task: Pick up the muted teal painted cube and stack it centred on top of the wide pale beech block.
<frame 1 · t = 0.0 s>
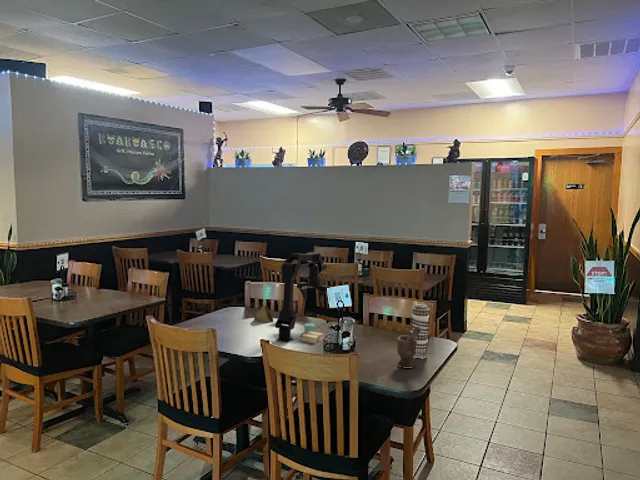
hand: (312, 301, 271), 15 cm above the table, tool pointing down, fingers open, 9 cm apart
beech block: (312, 340, 249), on the table
rock: (263, 321, 282), on the table
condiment: (286, 321, 282), on the table
decorative candle: (418, 356, 230), on the table
teal cube: (309, 333, 260), on the table
mortar and pestle: (408, 367, 215), on the table
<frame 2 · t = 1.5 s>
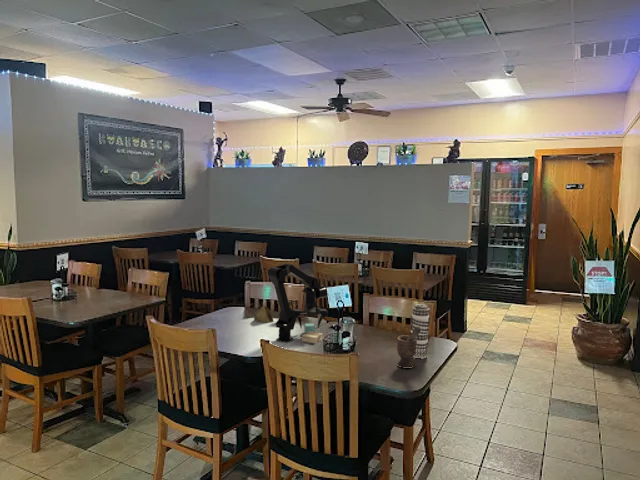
hand: (309, 328, 260), 3 cm above the table, tool pointing down, fingers open, 9 cm apart
nothing on the table moved.
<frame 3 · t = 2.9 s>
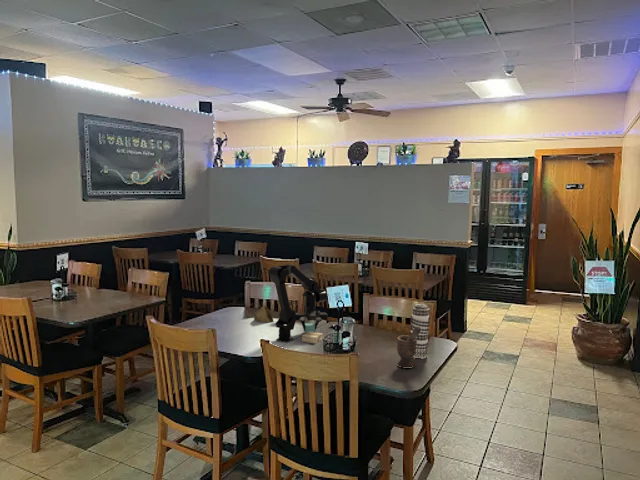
hand: (309, 331, 260), 1 cm above the table, tool pointing down, fingers closed on teal cube, 5 cm apart
teal cube: (309, 333, 260), on the table, touching gripper
everything else where it was.
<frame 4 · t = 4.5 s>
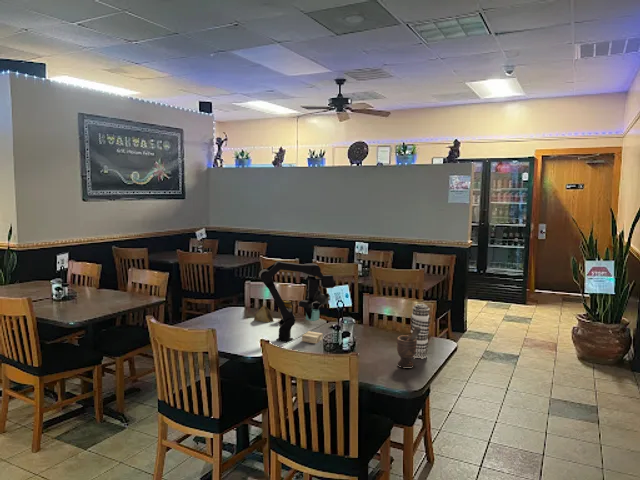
hand: (312, 317, 250), 11 cm above the table, tool pointing down, fingers closed on teal cube, 5 cm apart
teal cube: (312, 319, 250), point 10 cm above the table, touching gripper
everything else where it was.
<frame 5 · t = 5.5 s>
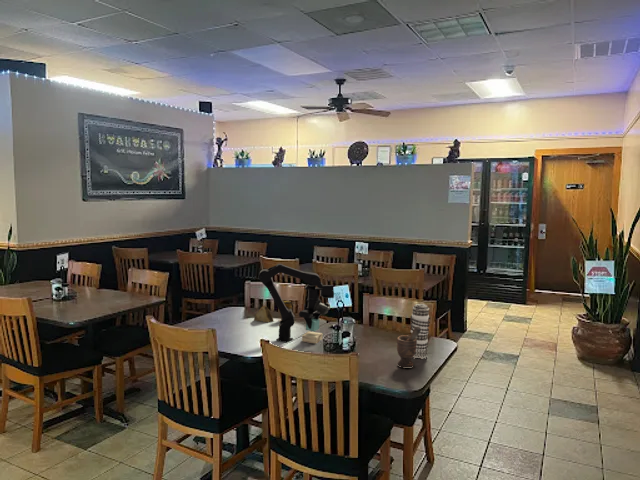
hand: (312, 327, 248), 7 cm above the table, tool pointing down, fingers closed on teal cube, 5 cm apart
teal cube: (312, 329, 248), point 6 cm above the table, touching gripper
everything else where it was.
when the fingers open (6 cm above the table, at t = 6.4 s): teal cube drops 2 cm, point 3 cm above the table.
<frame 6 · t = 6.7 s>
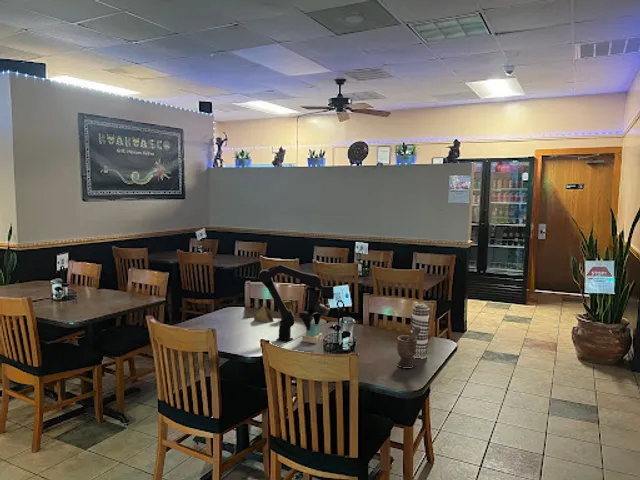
hand: (312, 328, 248), 6 cm above the table, tool pointing down, fingers open, 8 cm apart
teal cube: (312, 334, 248), point 3 cm above the table
everything else where it was.
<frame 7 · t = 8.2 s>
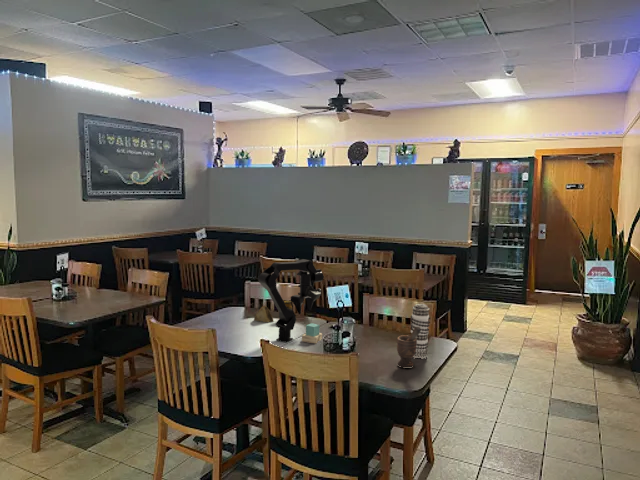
hand: (304, 312, 255), 13 cm above the table, tool pointing down, fingers open, 9 cm apart
beech block: (312, 340, 249), on the table, touching teal cube
teal cube: (312, 334, 248), point 3 cm above the table, touching beech block
everything else where it was.
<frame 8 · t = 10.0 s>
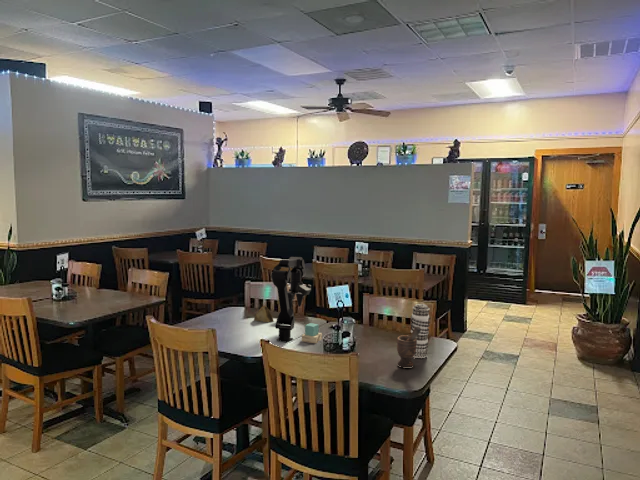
hand: (295, 308, 262), 13 cm above the table, tool pointing down, fingers open, 9 cm apart
beech block: (311, 340, 249), on the table
teal cube: (311, 334, 249), point 3 cm above the table
everything else where it was.
at the end: teal cube 0.2 cm off-centre on the beech block, point 3.5 cm above the beech block's base; teal cube tilted 0°; the gripper is holding nothing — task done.
